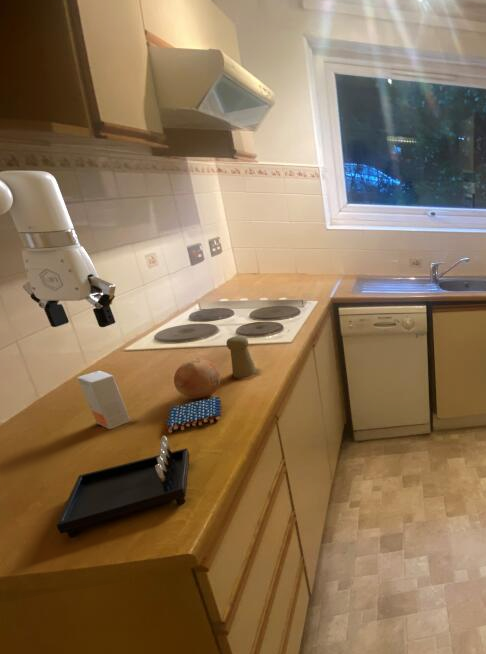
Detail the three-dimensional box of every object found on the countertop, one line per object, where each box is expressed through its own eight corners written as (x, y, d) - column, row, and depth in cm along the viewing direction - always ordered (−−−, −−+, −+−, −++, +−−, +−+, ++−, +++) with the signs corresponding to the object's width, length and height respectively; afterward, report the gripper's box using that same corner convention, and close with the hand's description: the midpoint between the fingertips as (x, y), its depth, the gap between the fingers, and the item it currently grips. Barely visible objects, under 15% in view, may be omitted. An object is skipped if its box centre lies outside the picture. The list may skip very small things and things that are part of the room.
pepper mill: (240, 379, 121) (231, 342, 117) (228, 374, 124) (218, 338, 120) (261, 371, 126) (253, 336, 122) (249, 367, 129) (240, 332, 125)
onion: (188, 389, 116) (177, 354, 112) (230, 385, 118) (221, 351, 114) (172, 406, 107) (159, 370, 103) (217, 402, 109) (206, 366, 105)
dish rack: (64, 541, 68) (43, 501, 65) (85, 490, 79) (68, 453, 76) (187, 503, 76) (174, 466, 73) (191, 461, 87) (180, 427, 84)
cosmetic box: (95, 423, 100) (75, 377, 95) (117, 415, 103) (99, 369, 98) (109, 430, 97) (90, 382, 93) (131, 421, 101) (114, 374, 96)
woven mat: (170, 413, 104) (167, 406, 103) (222, 402, 109) (219, 395, 108) (166, 434, 96) (163, 426, 95) (222, 420, 101) (220, 413, 100)
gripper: (-17, 243, 79) (23, 331, 86) (78, 243, 79) (110, 331, 86) (26, 237, 86) (59, 319, 93) (112, 238, 86) (140, 319, 93)
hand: (84, 325), depth 89 cm, fingers open, 9 cm apart
